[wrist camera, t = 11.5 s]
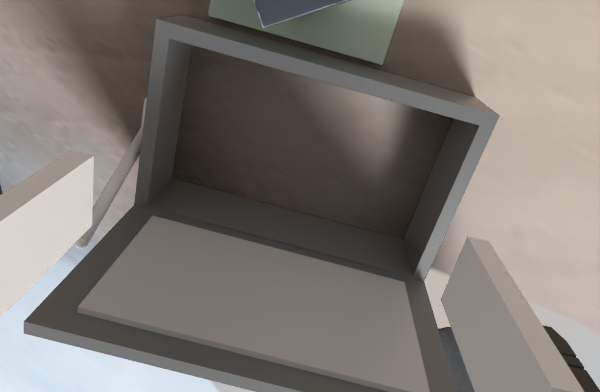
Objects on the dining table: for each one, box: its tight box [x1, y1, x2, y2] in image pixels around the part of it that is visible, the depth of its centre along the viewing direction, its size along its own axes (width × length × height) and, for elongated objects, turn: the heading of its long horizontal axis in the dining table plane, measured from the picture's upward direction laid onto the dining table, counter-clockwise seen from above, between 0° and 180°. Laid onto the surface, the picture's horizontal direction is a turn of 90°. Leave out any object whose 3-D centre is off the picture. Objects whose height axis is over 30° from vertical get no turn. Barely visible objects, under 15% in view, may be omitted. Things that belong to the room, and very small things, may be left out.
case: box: [24, 15, 499, 392], centre depth 30 cm, size 26×16×20 cm, turn 75°
